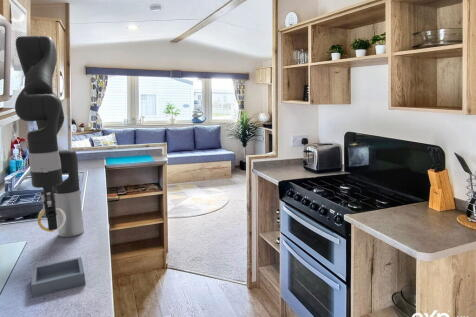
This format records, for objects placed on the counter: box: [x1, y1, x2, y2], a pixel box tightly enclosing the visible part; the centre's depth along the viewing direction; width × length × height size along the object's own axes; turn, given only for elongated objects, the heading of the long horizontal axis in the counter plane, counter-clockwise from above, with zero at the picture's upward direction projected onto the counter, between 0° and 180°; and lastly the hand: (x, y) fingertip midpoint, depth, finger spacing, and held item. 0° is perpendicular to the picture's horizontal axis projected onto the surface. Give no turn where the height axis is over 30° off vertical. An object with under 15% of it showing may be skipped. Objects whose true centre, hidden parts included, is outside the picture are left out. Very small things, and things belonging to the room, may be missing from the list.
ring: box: [37, 207, 66, 233], centre depth 100 cm, size 7×3×8 cm, turn 111°
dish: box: [30, 256, 86, 298], centre depth 102 cm, size 12×13×4 cm
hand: (53, 228), depth 100 cm, fingers closed on ring, 1 cm apart
